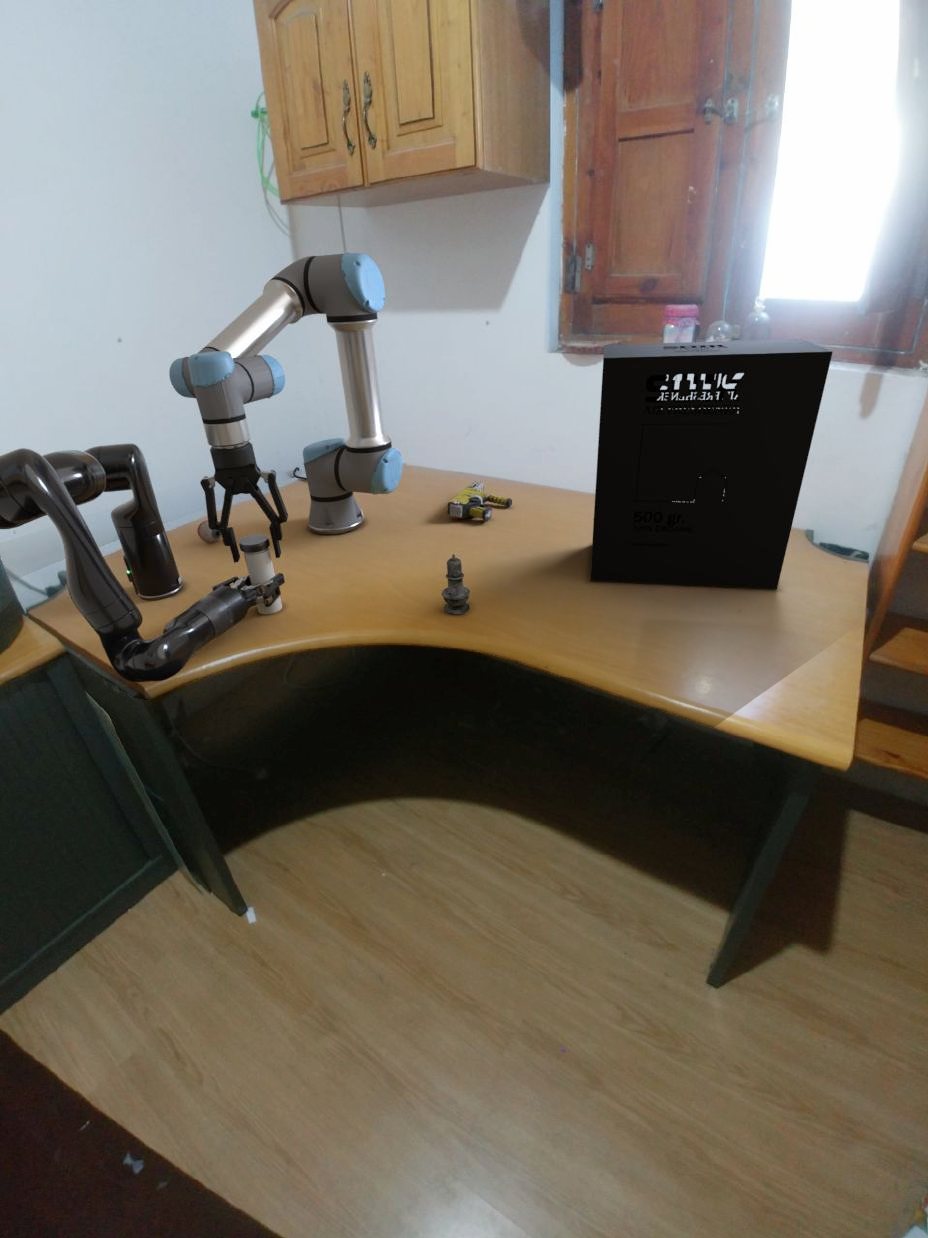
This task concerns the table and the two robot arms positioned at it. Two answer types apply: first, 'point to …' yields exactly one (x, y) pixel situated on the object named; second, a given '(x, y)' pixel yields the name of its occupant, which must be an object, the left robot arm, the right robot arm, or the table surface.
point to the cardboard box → (703, 460)
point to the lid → (254, 543)
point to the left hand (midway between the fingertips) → (271, 575)
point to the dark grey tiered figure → (455, 588)
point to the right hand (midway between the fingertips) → (257, 557)
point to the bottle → (262, 576)
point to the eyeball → (208, 533)
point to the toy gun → (474, 503)
